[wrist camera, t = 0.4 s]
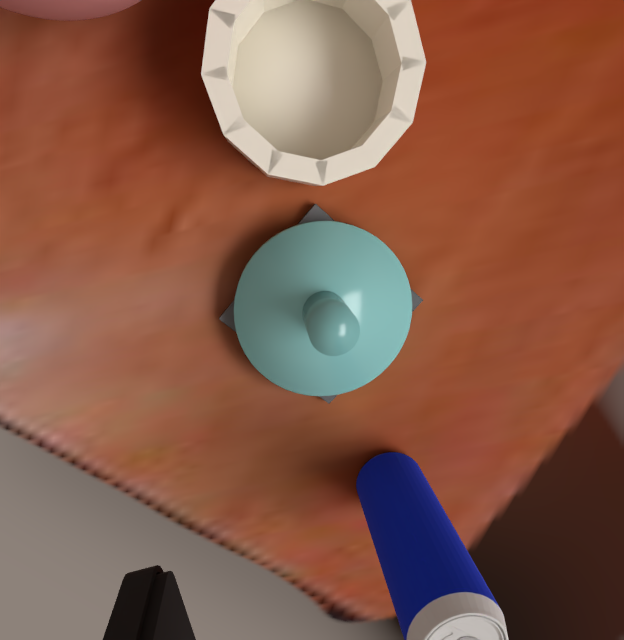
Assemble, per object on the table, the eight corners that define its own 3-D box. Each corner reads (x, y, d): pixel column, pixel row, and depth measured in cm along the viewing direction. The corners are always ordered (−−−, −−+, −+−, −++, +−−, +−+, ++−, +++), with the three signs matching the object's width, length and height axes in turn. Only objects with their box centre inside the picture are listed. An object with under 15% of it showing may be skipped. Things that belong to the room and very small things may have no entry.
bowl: (296, -66, 28) (304, -118, 24) (434, 80, 31) (465, 60, 26) (174, 94, 30) (157, 76, 25) (315, 220, 33) (325, 225, 28)
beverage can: (343, 494, 38) (394, 679, 24) (372, 439, 37) (443, 596, 23) (401, 514, 39) (483, 702, 25) (430, 460, 38) (533, 624, 24)
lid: (314, 181, 31) (325, 179, 26) (442, 298, 34) (475, 317, 29) (197, 321, 33) (186, 346, 28) (330, 421, 36) (342, 461, 31)
